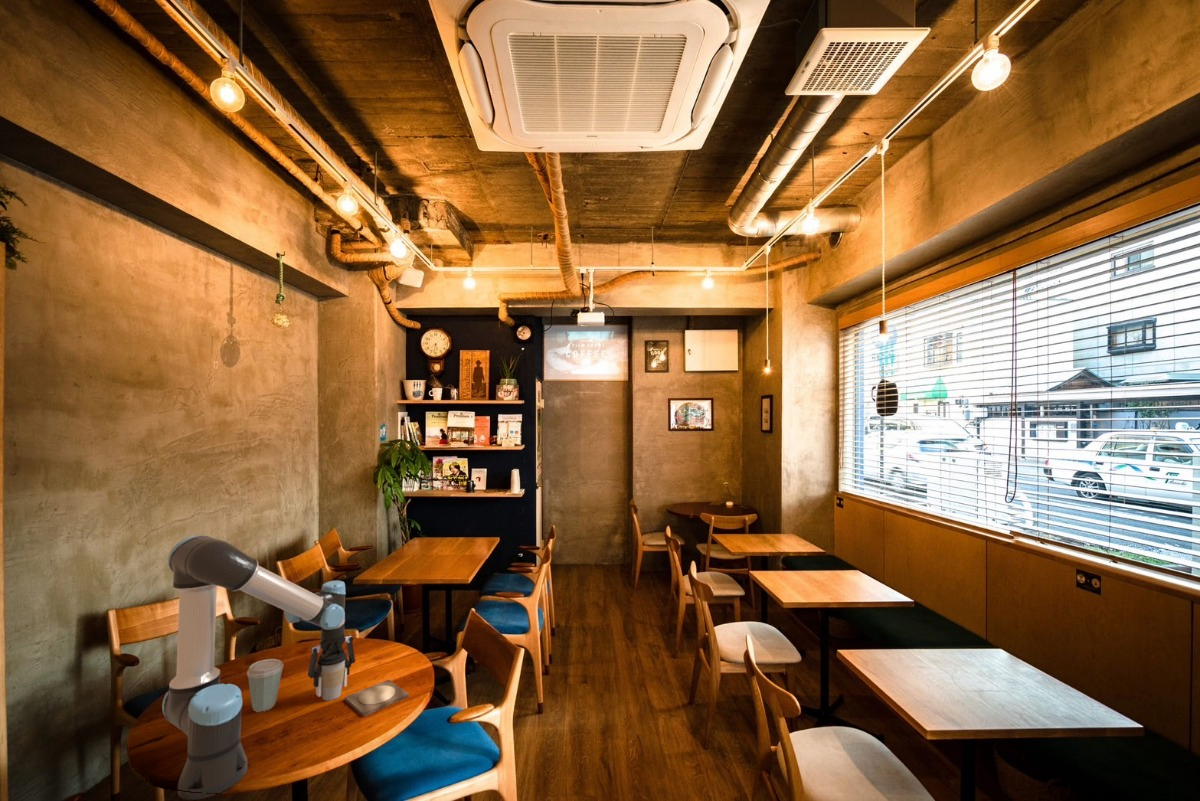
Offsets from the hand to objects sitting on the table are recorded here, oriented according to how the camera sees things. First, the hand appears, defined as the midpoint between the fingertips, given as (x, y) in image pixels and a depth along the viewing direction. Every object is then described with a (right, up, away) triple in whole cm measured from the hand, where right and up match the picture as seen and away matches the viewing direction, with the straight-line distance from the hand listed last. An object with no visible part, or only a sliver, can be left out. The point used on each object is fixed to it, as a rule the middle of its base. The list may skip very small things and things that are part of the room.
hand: (331, 689), depth 179 cm
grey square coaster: (+17, -2, -2) cm, 17 cm away
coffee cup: (0, -2, 0) cm, 2 cm away
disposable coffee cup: (-19, -2, -7) cm, 21 cm away
